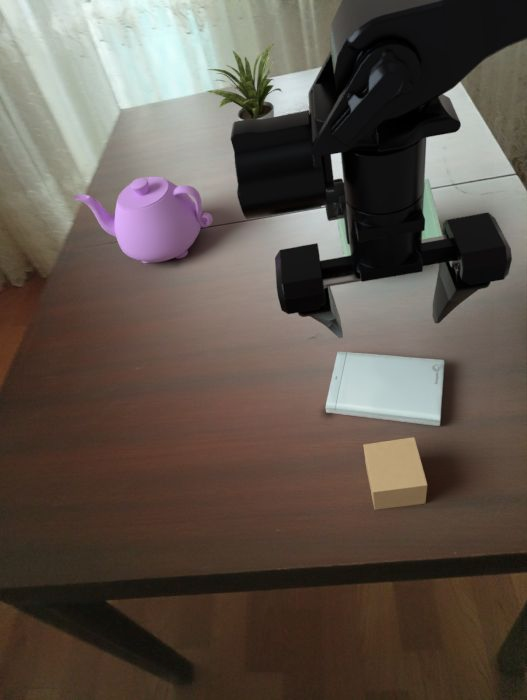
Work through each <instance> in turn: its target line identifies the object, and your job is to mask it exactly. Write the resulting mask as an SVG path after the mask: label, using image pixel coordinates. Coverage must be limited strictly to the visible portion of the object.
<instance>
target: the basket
mask: <svg viewBox="0 0 527 700" xmlns="http://www.w3.org/2000/svg"><path fill="white" fill-rule="evenodd" d="M436 207H437V206H436V203H435V198H434V195H433V191H432V185H431V183H430V179H429V178H425V181H424V203H423V215H424V218H425V230H424V231H422V239H427V238H433V237H439V236H443V232H442V231H443V230H442V228H441V227H442V226H441V224H440V219H439V215H438V211H437V208H436ZM336 223H337V229H338V234H339V237H340V238H339V239H340V244H341V250H342V257H345V256H351V253H350V244H347V239H346V232H345V222H344V218H343V219H337V220H336Z"/></svg>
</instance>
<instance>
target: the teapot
mask: <svg viewBox="0 0 527 700" xmlns="http://www.w3.org/2000/svg"><path fill="white" fill-rule="evenodd" d="M190 196H191V197H190ZM73 198H74V199H75V200H77V201H80V202H82V203H84V204H85V205H86V206H87V207H88V208H89V209H90V210H91V212H92V213H93V215H94V216H95V218H96V220H97V222H98V223H99V225H100V227H101V228H102V230H104V231H105V232H106V233H107V234H108V235H111V236H112V237H114V238H116V240H117V243H118V246H119V248H120V249H121V251H122V252H123V253H124V254H125V255H126V256H127V257H129V258H131V259H133V260H137V261H139V262H141V263H142V264H149V263H161V262H165V261H169V260H171V259H183V258H185V257H186V256H187V255H188V254H189V251H188V249H190V248H191V247H192V245H193V244H194V242H195V241H196V239H197V238H198V235H199V233H200V231H201V228H208V227H209V226H210V225H211V224H212V223H213V216H212V215H211V213H209V212H206V211H205V212H203V205H202V204H203V203H202V197H201V194H200V192H199V191H198V189H196V188H195V187H193V186H191V185H188V184H186V185H185V184H183V185H179V186H177V184H175V183H174V182H172V181H170V180H168V179H167V178H164V177H161V176H148V177H147V176H146V177H138V178H135V179H134V180H132V182H130V183H129V184H128V185H127V186H125V188H123V189H122V191H120V193H119V195H118V197H117V200H116V205H115V209H114V210H115V211H114V214H112V213H110V212H108V211H107V210H106V209H105V208H104V206H102V204H101V203H100V202H99V200H97V199H96V198H95V197H94V196H91V195H89V194H75V195H73Z"/></svg>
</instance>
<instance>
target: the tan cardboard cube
mask: <svg viewBox="0 0 527 700" xmlns="http://www.w3.org/2000/svg"><path fill="white" fill-rule="evenodd" d="M363 452H364V453H363V454H364V461H365V469H366V473H367V480H368V484H369V488H370V493H371V499H372V504H373V510H374V511H375V510H376V511H377V510H384V509H385V510H386V509H392V508H400V507H408V506H416V505H424V504H426V503H427V493H428V481H427V478H426V474H425V470H424V467H423V463H422V460H421V456H420V455H421V454H420V452H419V448H418V444H417V442H416V438H415V437H414V436H413V437H405V438H400V439H399V438H398V439H393V440H392V439H391V440H385V441H384V440H383V441H379V442H371V443H364V444H363Z"/></svg>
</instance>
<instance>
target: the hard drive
mask: <svg viewBox="0 0 527 700" xmlns="http://www.w3.org/2000/svg"><path fill="white" fill-rule="evenodd" d="M444 376H445V360H444V359H439V358H436V359H435V358H424V357H423V358H422V357H412V356H411V357H410V356H401V355H400V356H399V355H390V354H389V355H388V354H378V353H377V354H376V353H375V354H374V353H365V352H364V353H363V352H349V351H337V353H336V357H335V361H334V366H333V370H332V375H331V379H330V384H329V389H328V393H327V397H326V403H325V413H327V414H336V415H343V416H353V417H358V418H368V419H377V420H384V421H392V422H402V423H410V424H418V425H425V426H435V427H440V426H441V420H442V409H443V407H442V406H443V393H444V392H443V391H444V379H445V378H444Z"/></svg>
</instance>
